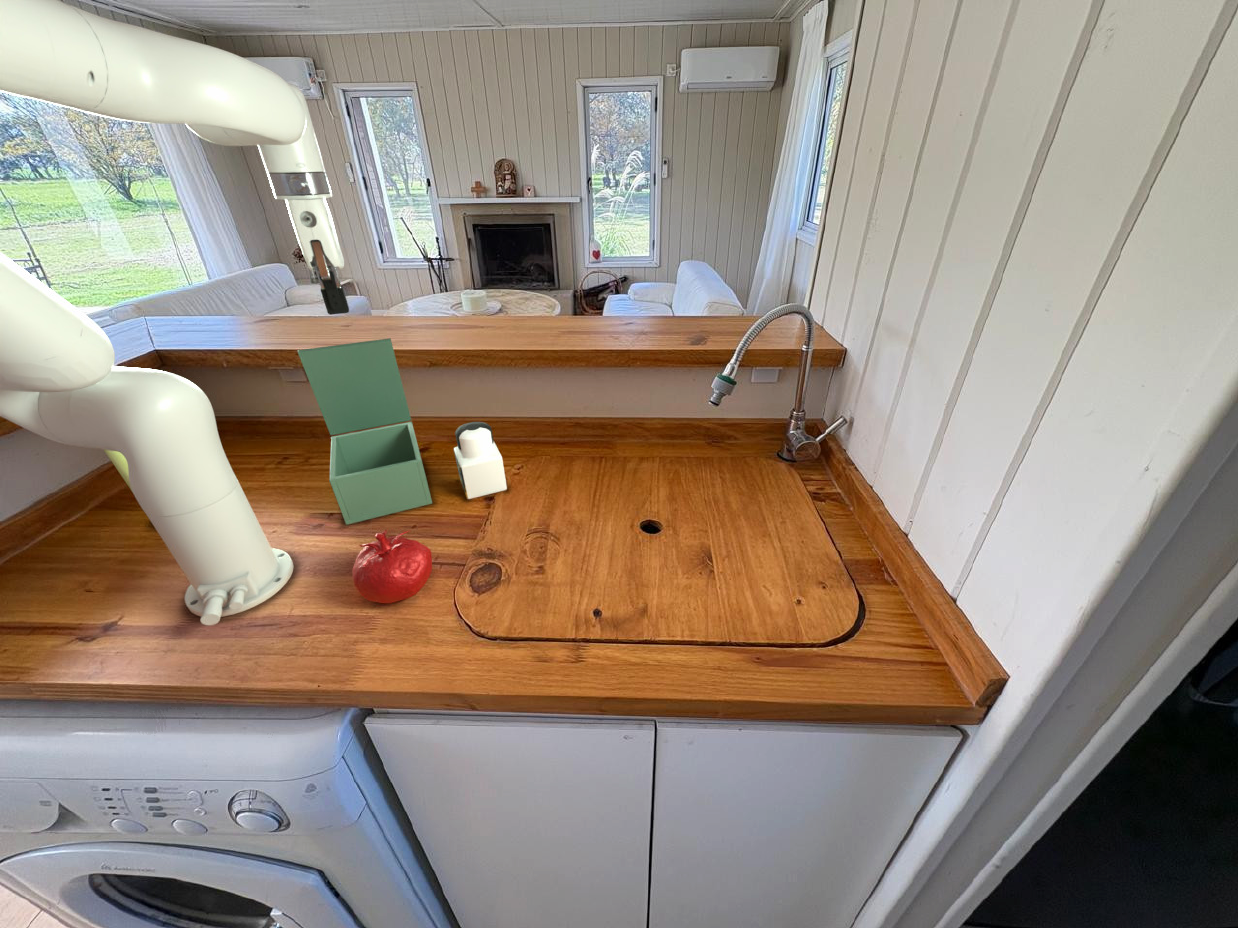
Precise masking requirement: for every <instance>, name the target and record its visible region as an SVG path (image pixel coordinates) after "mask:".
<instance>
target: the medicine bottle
mask: <svg viewBox="0 0 1238 928" xmlns="http://www.w3.org/2000/svg"><path fill="white" fill-rule="evenodd" d="M454 435H455V439H456V444H457V446H455V447H453V453H454V457H455V462H456V466H457V471H458V476H459V480H460V483H461V486H462V489H463V491H464V495H465V498H466V499H467V500H472V499H477V498H480V497H485V496H487V495H492V494H497V493H501V492H504V491H507V489H508V486H507V480H506V474H505V473H506V472H505V467H504V460H503V456H502V454H501V453H500V451H499V448H498V447H497V444H496V443H495V441H494V435H493V430H492V427H491V425H489V424H488V423H486V422H483V421H471V422H467V423H464V424H462V425H459V427H457V429H456V430H455V432H454Z"/></svg>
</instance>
